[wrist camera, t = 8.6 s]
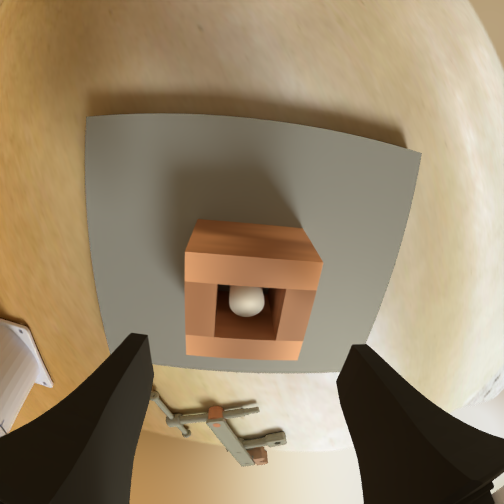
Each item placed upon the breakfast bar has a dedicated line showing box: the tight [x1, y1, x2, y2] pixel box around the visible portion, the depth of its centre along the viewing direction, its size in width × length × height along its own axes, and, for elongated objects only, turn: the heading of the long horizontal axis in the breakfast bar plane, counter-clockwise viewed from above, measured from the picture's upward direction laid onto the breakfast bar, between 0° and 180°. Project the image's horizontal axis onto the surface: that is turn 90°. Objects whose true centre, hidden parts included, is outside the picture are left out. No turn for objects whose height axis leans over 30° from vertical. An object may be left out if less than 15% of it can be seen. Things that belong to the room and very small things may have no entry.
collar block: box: [185, 219, 323, 360], centre depth 14 cm, size 5×5×4 cm
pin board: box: [85, 113, 422, 373], centre depth 15 cm, size 18×16×4 cm
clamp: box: [150, 391, 287, 466], centre depth 24 cm, size 15×2×10 cm
